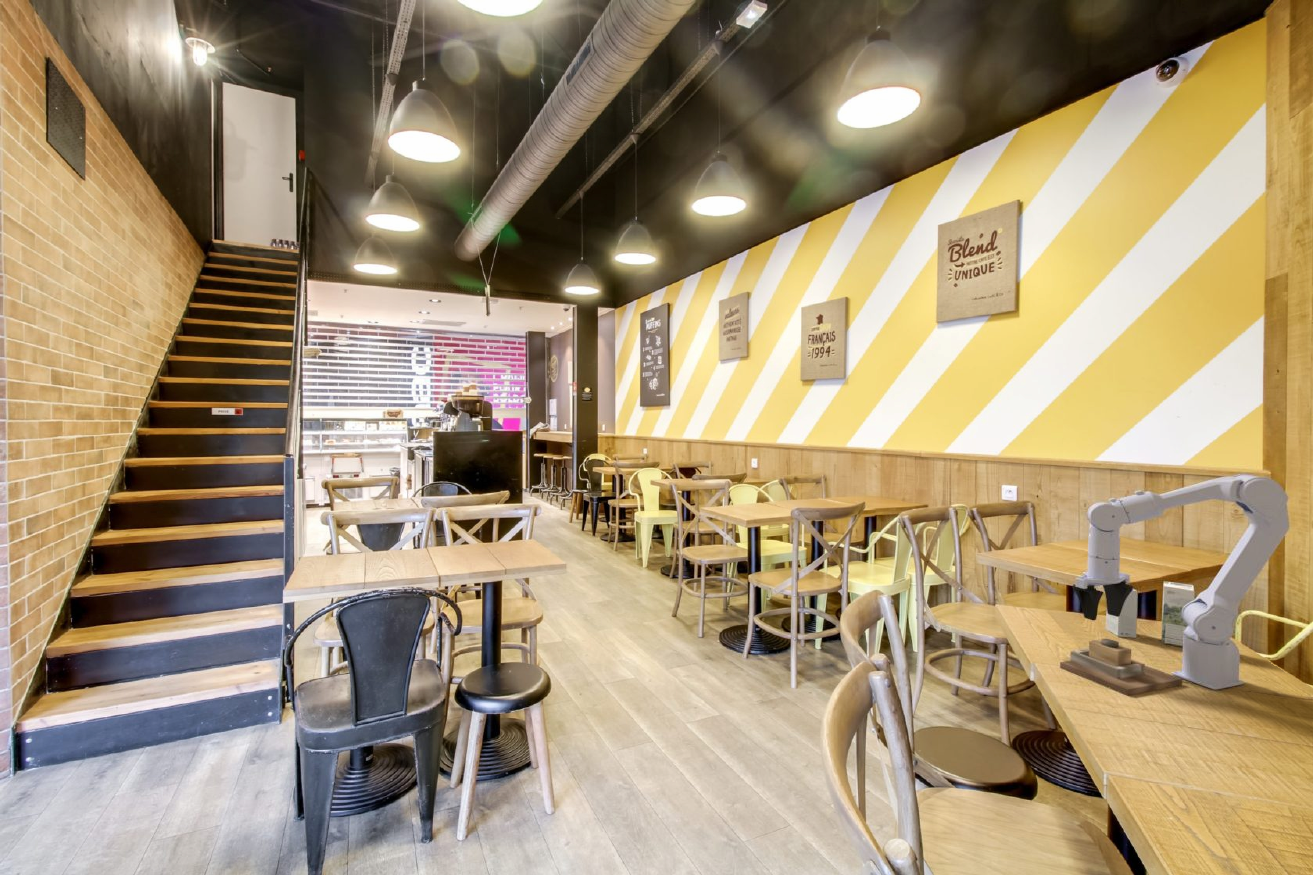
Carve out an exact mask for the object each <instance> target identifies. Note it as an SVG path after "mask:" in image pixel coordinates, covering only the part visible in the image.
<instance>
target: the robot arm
mask: <svg viewBox="0 0 1313 875" xmlns="http://www.w3.org/2000/svg"><path fill="white" fill-rule="evenodd" d="M1133 493H1134V494H1132V495H1128V496H1124V497H1120V498H1117V499H1116V498H1115V497H1112V498H1109V499H1108V500H1109V503H1108V502H1103V501H1101V502H1095V503H1094V504H1092V505H1091V506H1090V507H1088V510H1087V512H1086V514H1085V515H1086V518H1087V520H1088V522H1089V527H1088V532H1089V533H1088V540H1087V568H1086V570H1087V571H1084V572H1082V575H1081V576H1080V577H1075V583H1074V584H1072V590H1073V592H1074V593H1075V594H1076V597H1077V598H1078V600H1079V604H1080V607H1081V609H1082V613H1083V617H1084V619H1086V620H1087V619H1088V620H1091V621H1096V620H1097V616H1098V611H1099V604H1100V601H1101V598H1102V596H1103V595H1105V600H1106V603H1105V604H1106V611H1107V612H1108V614H1109V615H1113V616H1116V617H1119V616H1120V613H1121V611H1122V608H1123V605H1124V602H1125V600H1126V598H1127V597H1128V595H1129V594H1130V593H1131V591H1132V590H1133V589H1134V587H1133V586H1134V585H1129V584H1130V581H1131V580H1130V579H1131V578H1130V576H1131V575H1130V574H1128V573H1124V572H1120V566H1121V565H1120V564H1121V562H1120V558H1121V557H1120V556H1121V555H1120V554H1121V553H1120V552H1121V537H1120V528H1122V527H1123V525H1124V524H1125V525H1131V524H1136V523H1139V522H1143V521H1149V520H1153V519H1156V518H1160V517H1162V516H1163V514H1164V513H1165V511H1166V510H1168V509H1173V508H1176V507H1181V506H1187V505H1191V504H1196V503H1201V502H1205V501H1211V500H1218V501H1222V502H1223V501H1224V502H1229V503H1235V504H1236V505H1237V506H1238V507H1239V508H1241V510H1242V512H1243V513H1244V515H1245V517H1246V519H1247V520H1248V521H1249V526H1248V527H1247V529H1245V531H1244V532H1243V533H1244V534H1242V536H1241V538H1240V539H1239V541H1238V542H1237V544H1236V546H1235V547H1234V548H1233V550H1232V551H1231V553H1230V554H1229V556H1228V557H1227V559H1226V560H1225V562H1224V563H1223V565H1222V566H1221V568H1220V570H1219V571H1218V573H1217V574H1216V575H1215V577H1214V579H1213V580H1212V582H1211V583H1210V585H1208V587H1207V589H1205V590H1203V591H1201V592H1200V593H1199V594H1198V595H1197V597H1195V598H1194V600H1193V601H1192V602H1189V603H1187V604H1186V605H1185V606H1184V607H1183V609H1182V618H1183V620H1184V621H1185V623H1186V624H1187V625H1188V626H1187V628H1186V629H1185V630H1184V631H1183V647H1182V663H1181V664H1182V666H1181V667H1182V668H1181V670H1176V671H1172V672H1171V675H1173V676H1176V677H1178V678H1181V679H1182V680H1183V679H1184V680H1186V681H1189V682H1192V683H1194V684H1198V685H1200V686H1203V687H1205V688H1209V689H1211V690H1215V691H1216V690H1220V689H1221V690H1222V689H1226V688H1230V687H1231V688H1232V687H1235V686H1240V685H1244V684H1245V681H1244V680H1241V679H1240V658H1241V656H1240V655H1241V652H1240V649H1239V648H1238V646H1237V644H1236V643H1235V642H1234V641H1233V640H1232V639H1231V638H1232V636H1234V631H1235V628H1234V626H1235V622H1236V619H1237V618H1238V617H1239V604H1240V603H1241V601H1242V599H1243V598H1244V597H1245V595H1246V593H1247V592H1248V591H1249V589H1250V588H1251V586H1252V584H1253V583H1254V582H1255V580H1256V579H1257V578H1258V576H1259V574H1260V573H1261V572H1262V570H1263V568H1264V567H1265V566H1266V563H1267V562H1268V561H1269V560H1270V558H1271V557H1272V555H1273V554H1274V552H1275V550H1276V549H1277V547H1278V546H1279V545H1280V544H1281V542H1282V540H1283V539H1284V538H1285V536H1286V534H1287V533H1288V532H1289V530H1290V520H1289V510H1288V501H1289V495H1288V494H1287V493H1286V492H1285V489H1283V487H1282V486H1281V485H1280V484H1279V482H1277V481H1276V480H1274V479H1272V478H1269V477H1266V476H1258V475H1255V474H1251V473H1238V474H1235V475H1233V476H1230V475H1229V476H1220V477H1217V478H1213V479H1209V480H1206V481H1205V480H1204V481H1201V482H1199V483H1195V484H1192V485H1187V486H1185V487H1184V486H1183V487H1181V488H1178V489H1175V490H1171V491H1168V492H1164V493H1161V494H1157V493H1155V492H1152V491H1148V490H1147V491H1143V490H1141V489H1140V490H1136V491H1135V490H1134V491H1133ZM1098 586H1099V587H1101V586H1102V588H1103V591H1102V590H1098V589H1097V588H1096V587H1098Z"/></svg>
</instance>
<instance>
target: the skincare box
mask: <svg viewBox="0 0 1313 875" xmlns="http://www.w3.org/2000/svg"><path fill="white" fill-rule="evenodd" d="M1105 614H1106V617H1105V629H1106V630H1107V631H1108V632H1110V633H1112V634H1113V635H1115V636H1116V637H1118V638H1119V637H1120V638H1132V639H1135V638H1137V630H1138V628H1137V625H1138V622H1137V621H1138V590H1136V589H1134V588H1133V590H1132V591H1131V593H1130V594H1129V595H1128V597H1127V598H1126V600H1125V602H1124V605H1123V608H1122V611H1121V613H1120V616H1119V617H1116V616H1113V615H1109V614H1108V612H1107V610H1106V613H1105Z"/></svg>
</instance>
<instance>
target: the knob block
mask: <svg viewBox="0 0 1313 875" xmlns="http://www.w3.org/2000/svg"><path fill="white" fill-rule="evenodd" d="M1088 642H1089V643H1088V649H1089V657H1091V658H1093V659H1096V660H1099V661H1101V662H1104V663H1107V664H1109V665H1112V666H1114V667H1119V666H1125V665H1131V659H1132V649H1131V648H1129V647H1126V646H1123V645H1121V644H1120V643H1119V641H1118V640H1114V639H1110V638H1101V639H1096V640H1090V641H1088Z"/></svg>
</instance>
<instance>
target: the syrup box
mask: <svg viewBox="0 0 1313 875" xmlns="http://www.w3.org/2000/svg"><path fill="white" fill-rule="evenodd" d="M1162 589H1163V590H1162V610H1161V611H1162V612H1161V613H1162V618H1161V643H1162V644H1165V645H1168V646H1169V645H1170V646H1175V647H1180V648H1183V631H1184V630H1185V629H1186V628H1187V626H1188V625H1187V624H1186V623H1185V621H1184V620H1183V618H1182V609H1183V607H1184V606H1185V605H1186V604H1187V603H1189V602H1192V601H1193V600H1195V588H1194V585H1193V584H1186V583H1181V582H1180V583H1179V582H1174V581H1173V582H1171V581H1167V580H1166V581H1163V588H1162Z"/></svg>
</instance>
